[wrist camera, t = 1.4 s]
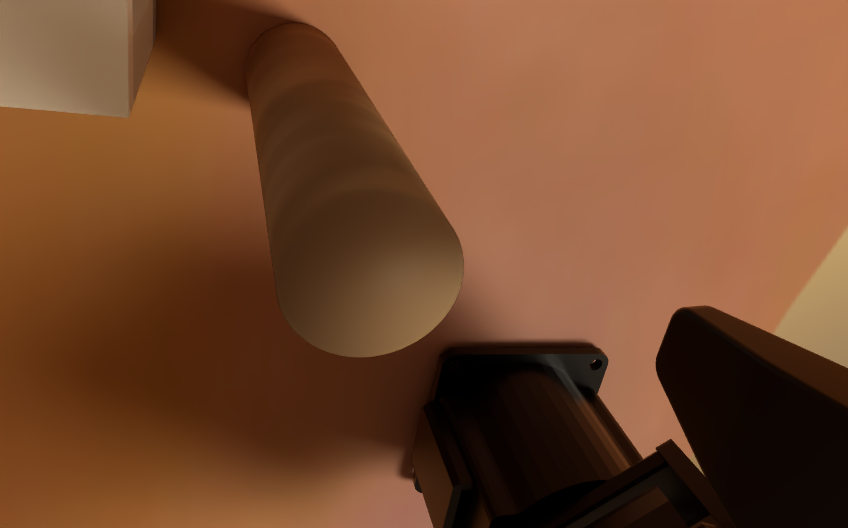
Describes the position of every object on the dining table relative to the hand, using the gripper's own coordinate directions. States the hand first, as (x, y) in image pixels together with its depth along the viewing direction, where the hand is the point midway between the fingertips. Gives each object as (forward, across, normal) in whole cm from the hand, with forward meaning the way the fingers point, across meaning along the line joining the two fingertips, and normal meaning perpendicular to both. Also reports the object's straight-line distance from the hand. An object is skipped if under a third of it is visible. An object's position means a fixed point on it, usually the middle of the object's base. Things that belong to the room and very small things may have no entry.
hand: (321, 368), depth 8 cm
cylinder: (+13, -2, +1) cm, 13 cm away
